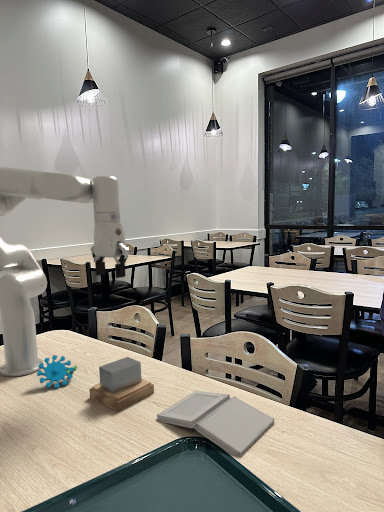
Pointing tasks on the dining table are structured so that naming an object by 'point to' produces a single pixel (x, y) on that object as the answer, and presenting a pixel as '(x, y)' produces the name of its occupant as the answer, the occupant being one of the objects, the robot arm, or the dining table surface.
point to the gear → (56, 371)
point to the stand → (122, 395)
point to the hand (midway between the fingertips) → (110, 276)
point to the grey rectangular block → (120, 374)
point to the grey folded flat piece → (219, 419)
